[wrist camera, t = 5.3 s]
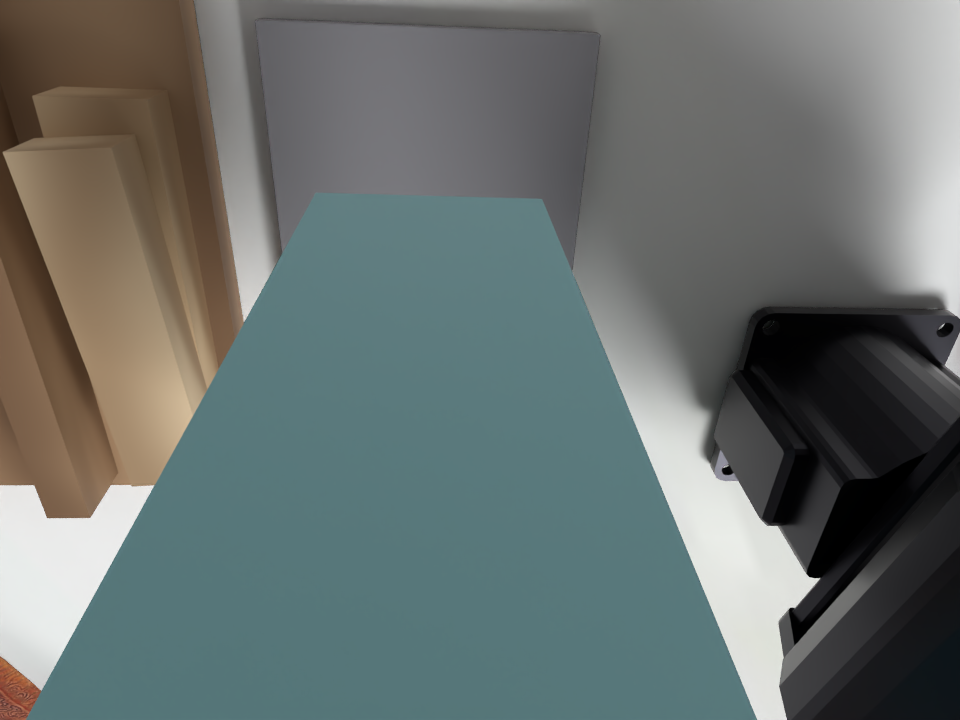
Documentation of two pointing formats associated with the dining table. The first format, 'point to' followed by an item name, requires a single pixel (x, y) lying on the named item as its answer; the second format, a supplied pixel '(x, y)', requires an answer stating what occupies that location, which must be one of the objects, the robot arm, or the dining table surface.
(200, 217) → the walnut rack
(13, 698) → the wooden tablet
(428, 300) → the teal panel
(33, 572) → the dining table surface
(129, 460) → the oak offcut slats
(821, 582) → the robot arm
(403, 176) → the grey rubber mat
